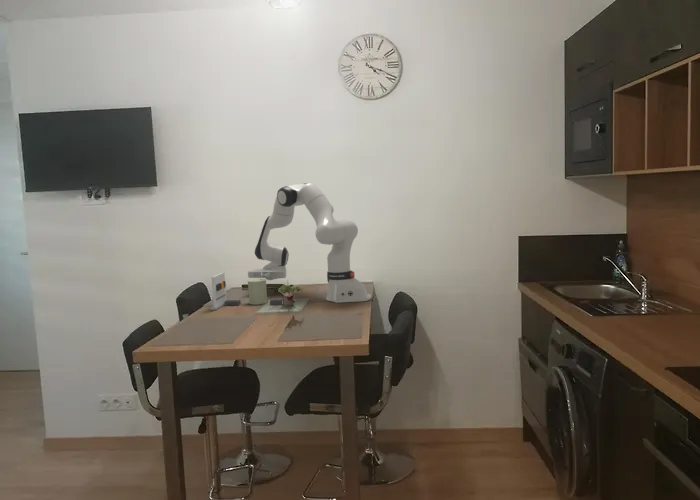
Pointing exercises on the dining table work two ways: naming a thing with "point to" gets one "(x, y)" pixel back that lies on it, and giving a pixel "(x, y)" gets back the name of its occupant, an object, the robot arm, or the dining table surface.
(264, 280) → the can
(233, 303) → the cover
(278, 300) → the cover
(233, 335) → the dining table surface
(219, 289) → the panel
